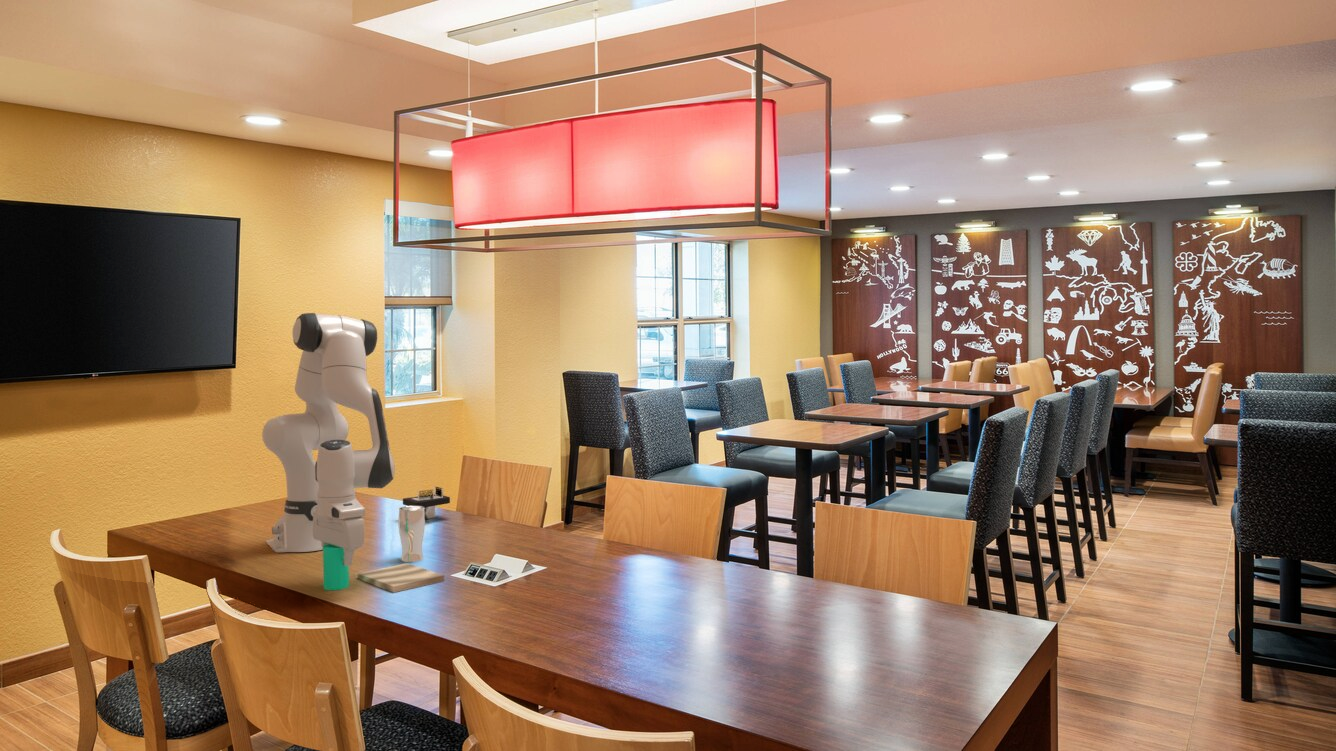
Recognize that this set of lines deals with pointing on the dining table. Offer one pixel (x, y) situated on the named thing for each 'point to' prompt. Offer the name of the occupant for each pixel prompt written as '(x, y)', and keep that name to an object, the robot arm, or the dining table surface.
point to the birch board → (401, 577)
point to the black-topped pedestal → (428, 501)
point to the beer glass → (411, 532)
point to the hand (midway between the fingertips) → (337, 562)
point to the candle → (334, 568)
